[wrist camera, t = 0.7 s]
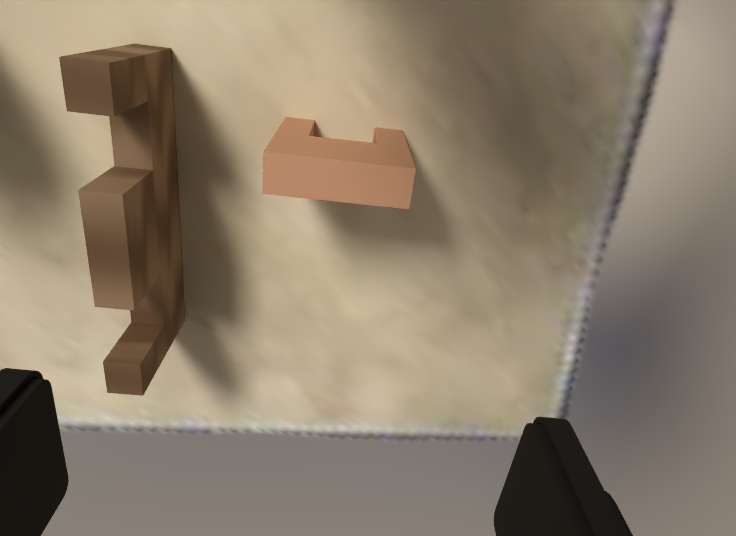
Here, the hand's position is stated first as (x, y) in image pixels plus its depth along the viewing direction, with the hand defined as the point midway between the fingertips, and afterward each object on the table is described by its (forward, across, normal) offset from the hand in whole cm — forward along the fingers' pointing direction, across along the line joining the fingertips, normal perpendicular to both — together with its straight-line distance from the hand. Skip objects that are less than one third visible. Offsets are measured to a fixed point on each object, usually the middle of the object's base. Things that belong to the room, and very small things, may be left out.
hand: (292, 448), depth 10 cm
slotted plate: (+24, 0, -1) cm, 24 cm away
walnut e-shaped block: (+24, +11, +4) cm, 26 cm away
